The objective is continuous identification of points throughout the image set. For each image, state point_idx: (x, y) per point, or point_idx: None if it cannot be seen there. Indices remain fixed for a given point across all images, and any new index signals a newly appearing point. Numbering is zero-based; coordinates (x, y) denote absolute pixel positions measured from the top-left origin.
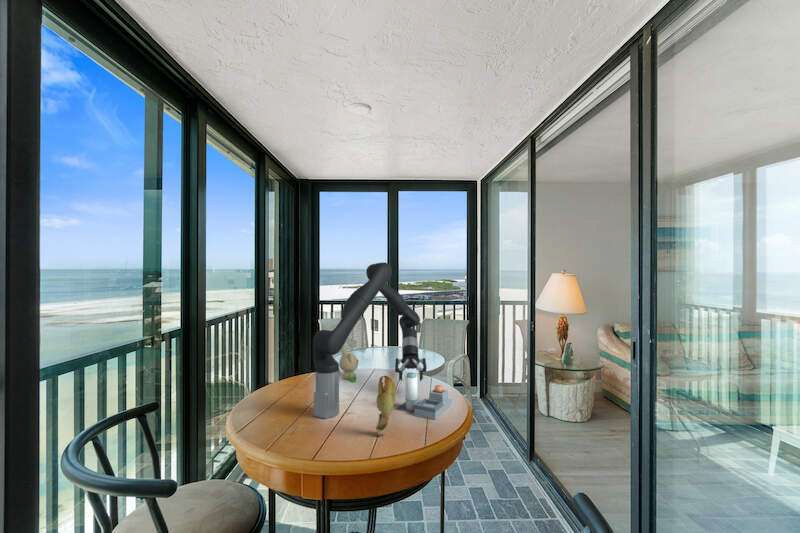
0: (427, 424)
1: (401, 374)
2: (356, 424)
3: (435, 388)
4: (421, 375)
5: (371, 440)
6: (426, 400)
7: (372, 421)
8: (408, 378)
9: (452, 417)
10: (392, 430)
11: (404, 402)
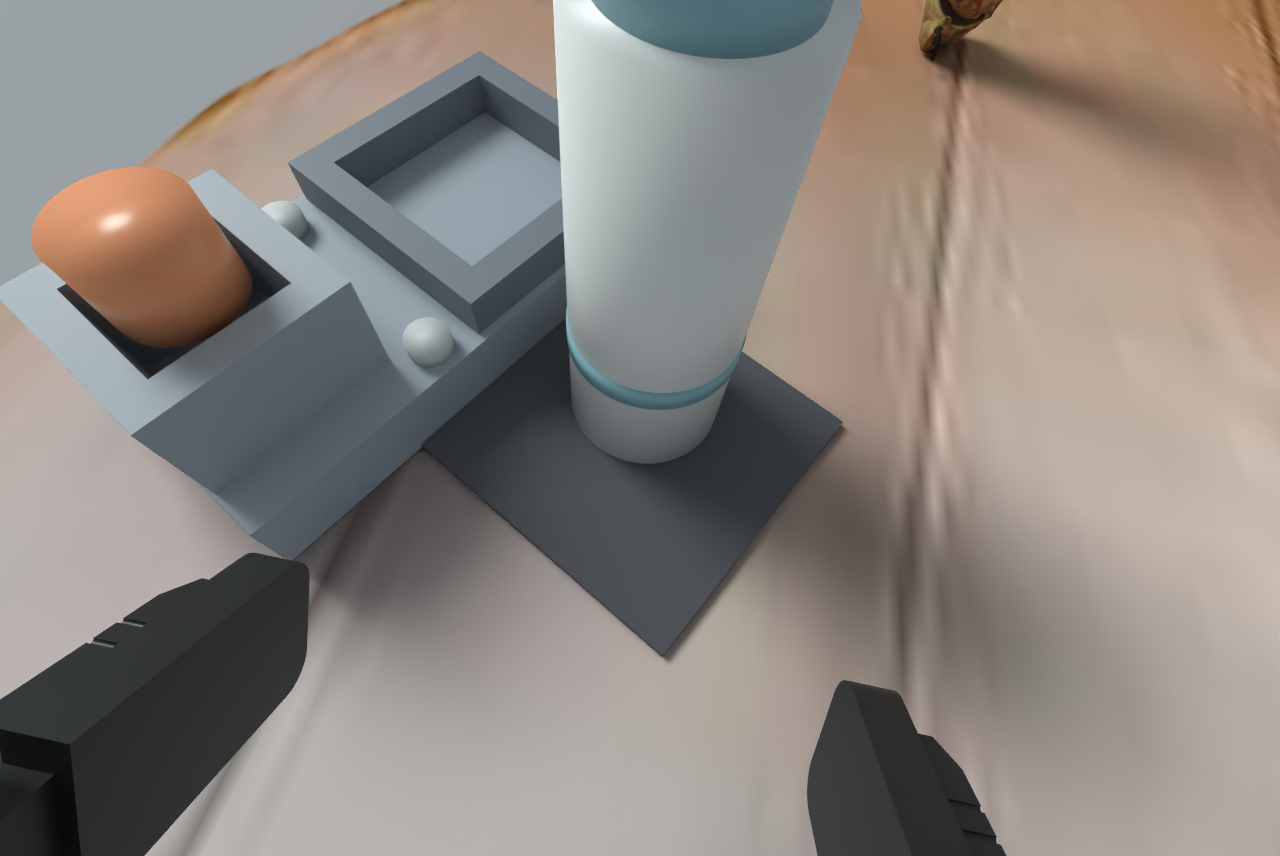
0: None
1: (912, 797)
2: (1161, 204)
3: (215, 230)
4: (161, 634)
5: (993, 17)
6: (464, 265)
7: (1041, 222)
8: None
9: (321, 141)
10: (866, 78)
11: (702, 602)
